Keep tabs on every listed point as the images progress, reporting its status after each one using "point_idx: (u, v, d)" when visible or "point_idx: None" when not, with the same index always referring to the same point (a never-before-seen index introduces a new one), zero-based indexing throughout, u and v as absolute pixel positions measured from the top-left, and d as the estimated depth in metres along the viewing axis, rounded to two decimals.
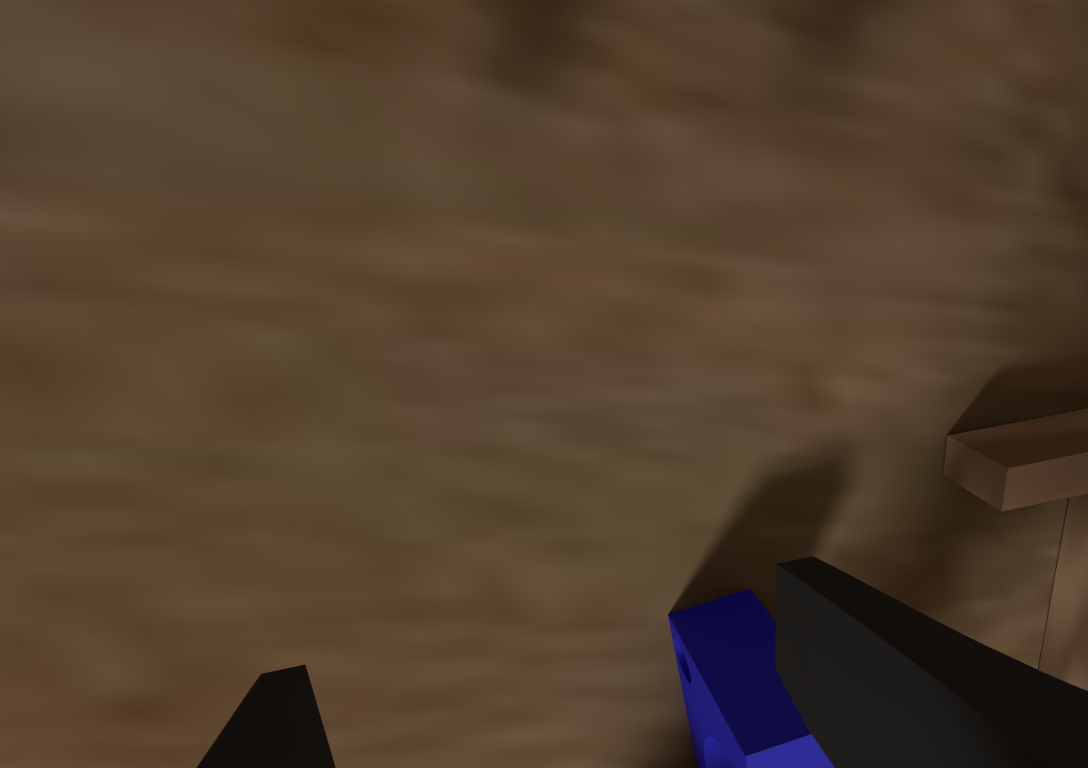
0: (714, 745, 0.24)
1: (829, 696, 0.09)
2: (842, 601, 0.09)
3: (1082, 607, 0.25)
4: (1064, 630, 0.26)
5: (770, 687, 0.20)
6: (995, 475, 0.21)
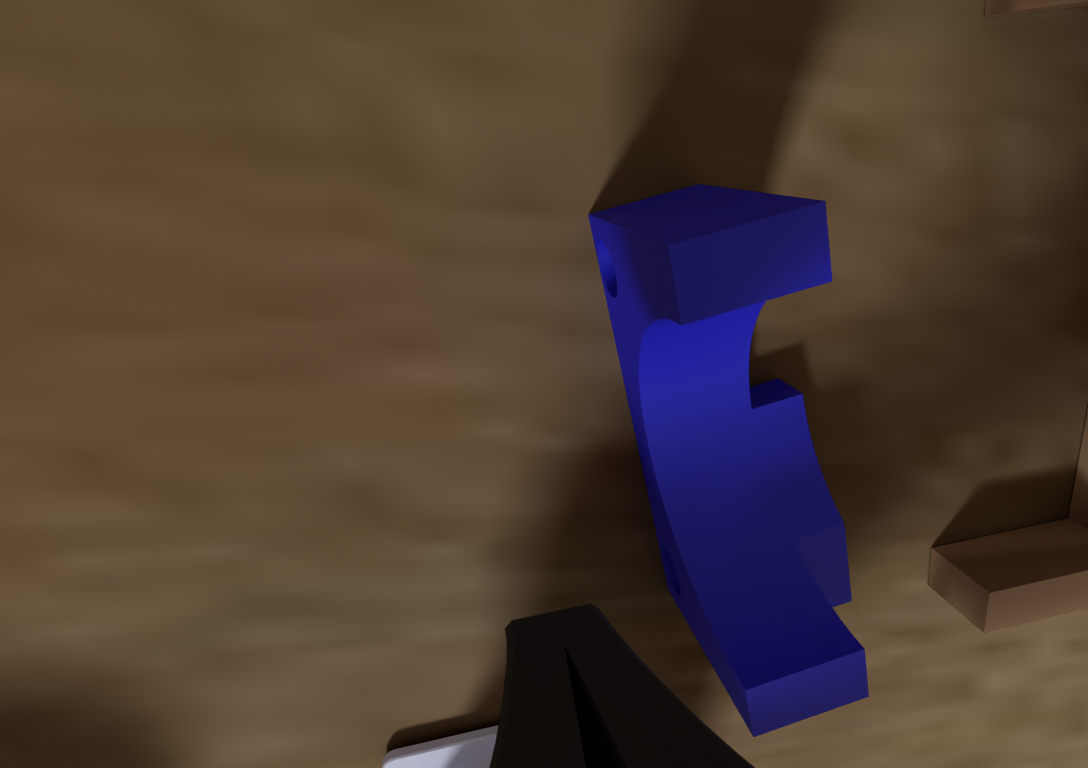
0: (654, 394, 0.18)
1: (584, 755, 0.09)
2: (584, 659, 0.09)
3: None
4: None
5: (713, 211, 0.14)
6: None
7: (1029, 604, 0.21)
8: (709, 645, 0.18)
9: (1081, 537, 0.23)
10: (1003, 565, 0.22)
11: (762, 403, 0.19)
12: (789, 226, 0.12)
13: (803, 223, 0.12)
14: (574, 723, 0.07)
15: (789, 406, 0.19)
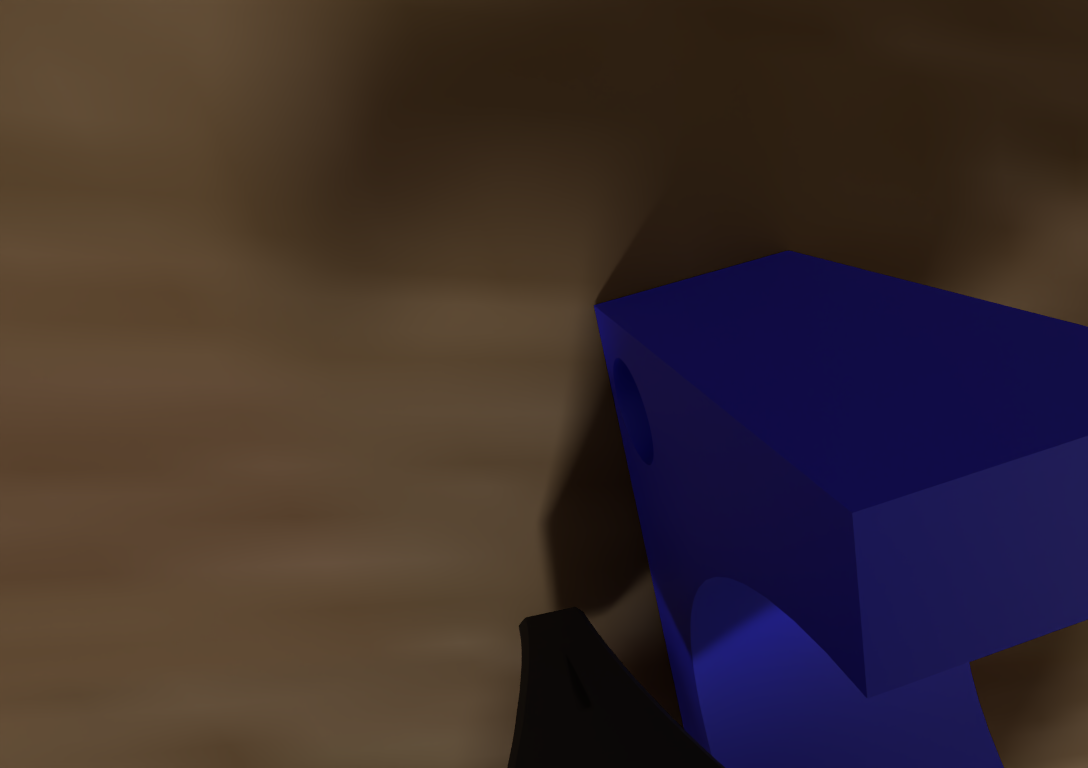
0: (714, 631, 0.10)
1: None
2: (566, 663, 0.09)
3: None
4: None
5: (899, 356, 0.06)
6: None
7: None
8: None
9: None
10: None
11: None
12: None
13: None
14: (592, 719, 0.07)
15: None
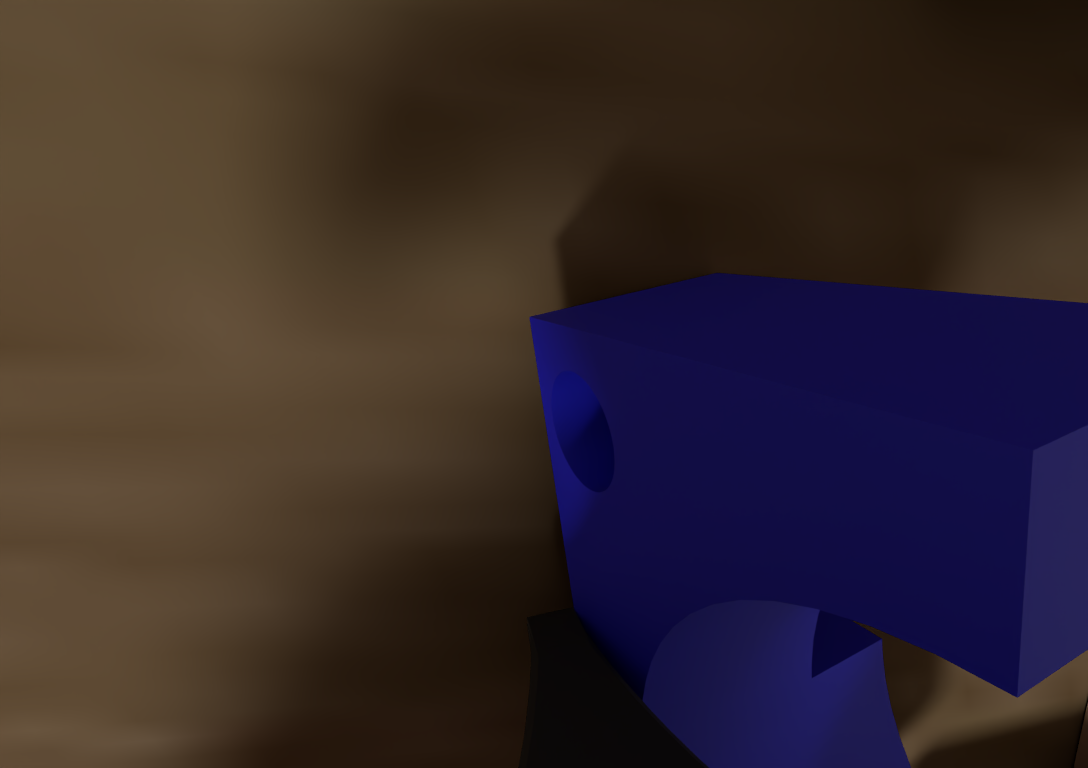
0: (667, 685, 0.09)
1: None
2: (555, 665, 0.09)
3: None
4: None
5: (926, 332, 0.06)
6: None
7: None
8: None
9: None
10: None
11: (823, 663, 0.10)
12: None
13: None
14: (603, 717, 0.07)
15: (863, 663, 0.11)
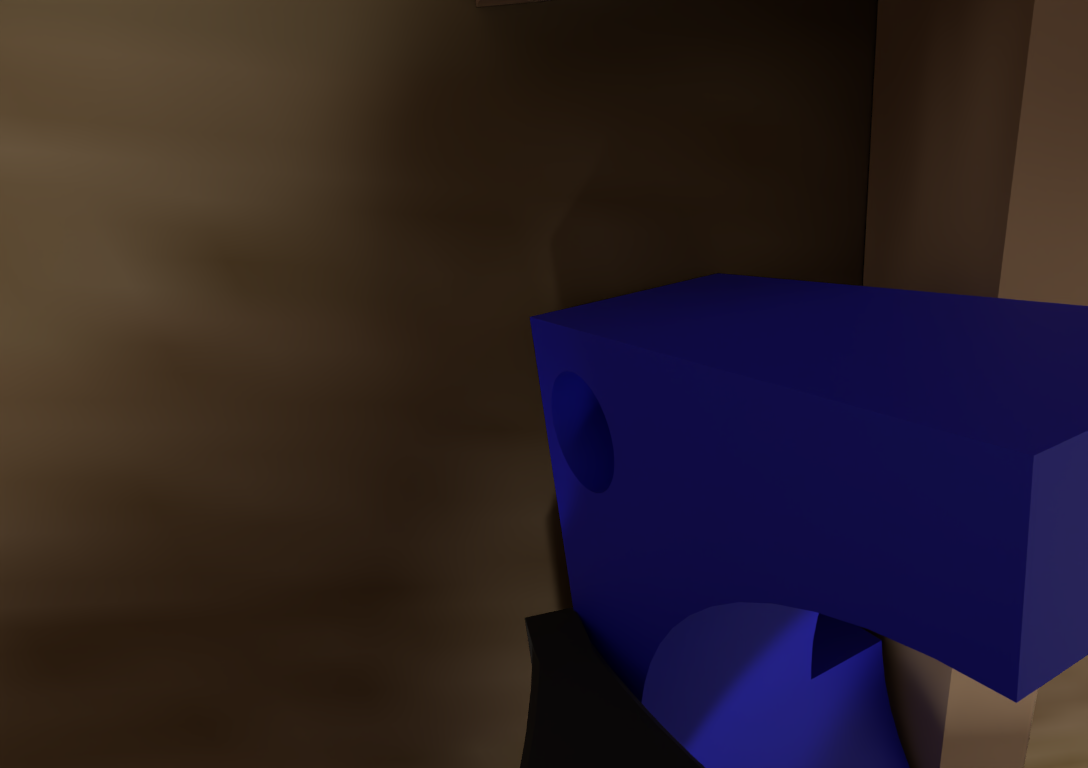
0: (667, 685, 0.09)
1: None
2: (553, 666, 0.09)
3: None
4: None
5: (928, 334, 0.06)
6: None
7: None
8: None
9: None
10: None
11: (823, 664, 0.10)
12: None
13: None
14: (604, 716, 0.07)
15: (863, 665, 0.11)
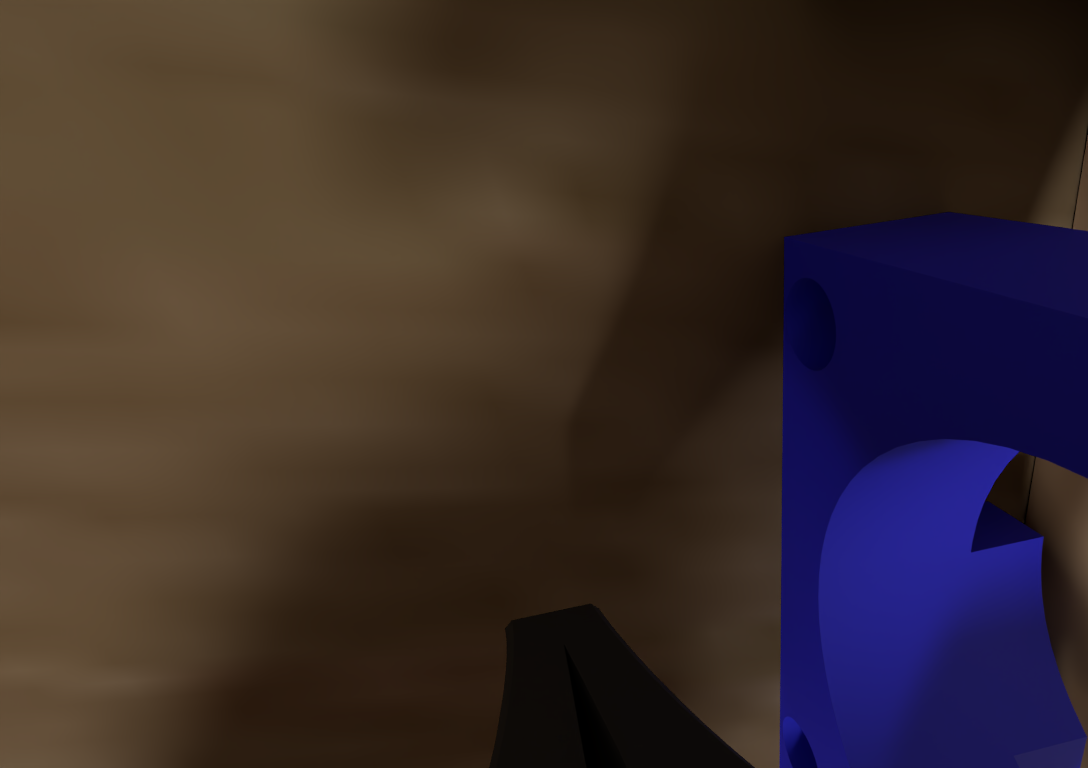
0: (848, 522, 0.12)
1: (585, 756, 0.09)
2: (584, 659, 0.09)
3: None
4: None
5: None
6: None
7: None
8: None
9: None
10: None
11: (984, 544, 0.13)
12: None
13: None
14: (574, 723, 0.07)
15: (1022, 552, 0.13)
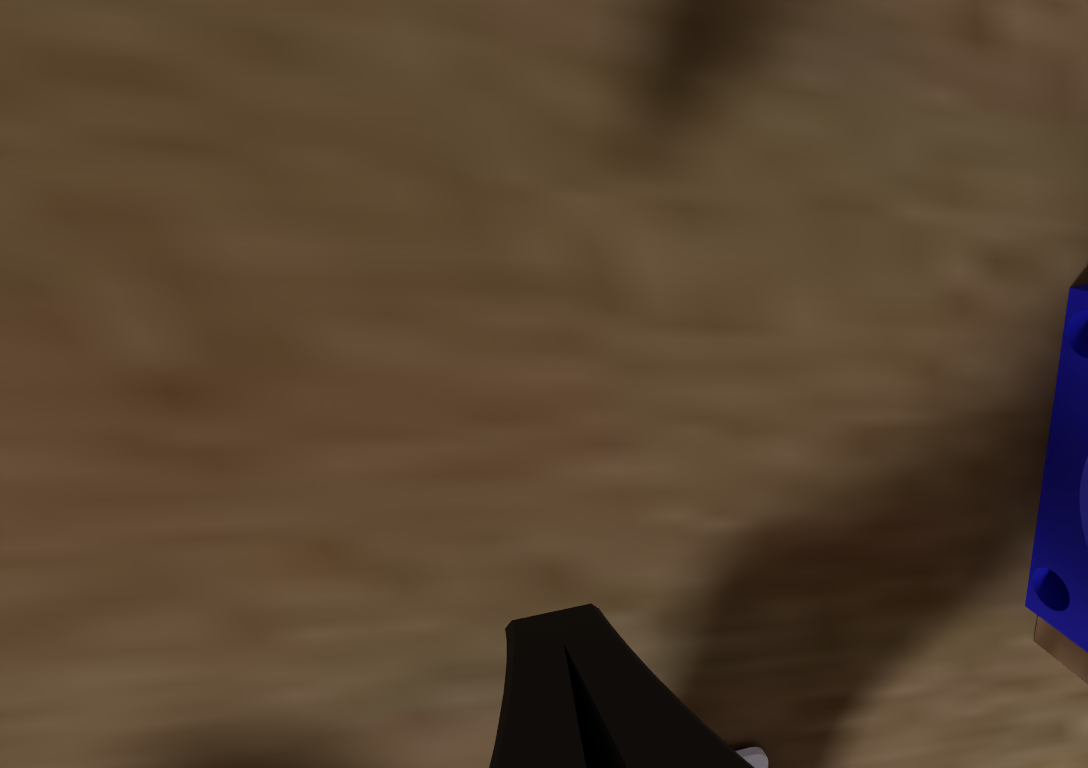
0: None
1: (585, 755, 0.09)
2: (584, 659, 0.09)
3: None
4: None
5: None
6: None
7: None
8: None
9: None
10: None
11: None
12: None
13: None
14: (574, 723, 0.07)
15: None
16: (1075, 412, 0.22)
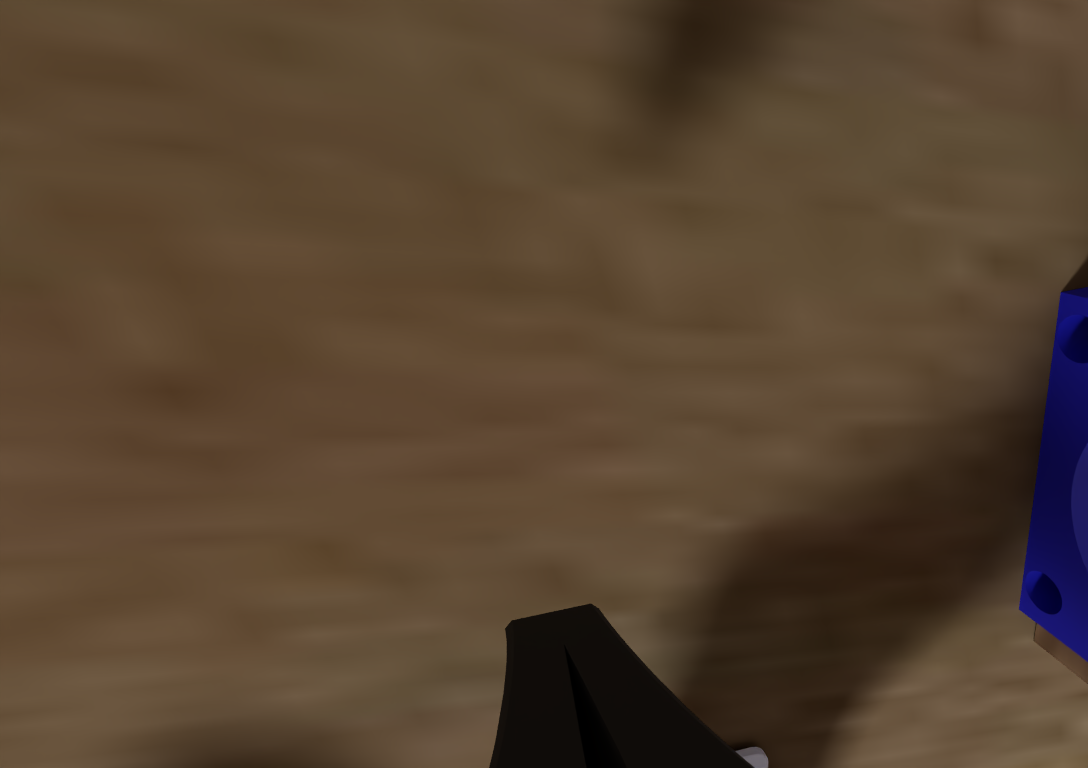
0: None
1: (585, 755, 0.09)
2: (584, 659, 0.09)
3: None
4: None
5: None
6: None
7: None
8: None
9: None
10: None
11: None
12: None
13: None
14: (574, 723, 0.07)
15: None
16: (1066, 416, 0.22)
